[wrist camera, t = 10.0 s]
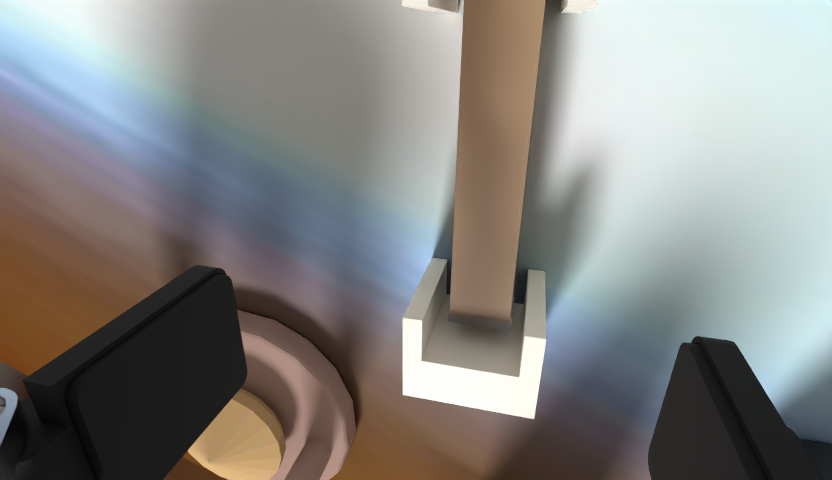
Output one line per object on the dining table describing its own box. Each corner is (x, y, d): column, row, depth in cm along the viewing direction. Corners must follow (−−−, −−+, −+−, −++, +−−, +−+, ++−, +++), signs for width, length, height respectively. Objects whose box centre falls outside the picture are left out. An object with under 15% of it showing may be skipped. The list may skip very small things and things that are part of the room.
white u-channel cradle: (600, -115, 20) (625, -181, 14) (535, 339, 30) (534, 419, 24) (441, -107, 22) (401, -162, 15) (430, 323, 32) (403, 394, 25)
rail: (549, -15, 22) (551, -27, 18) (515, 284, 29) (510, 330, 24) (478, -14, 23) (462, -25, 18) (461, 277, 30) (447, 321, 25)
